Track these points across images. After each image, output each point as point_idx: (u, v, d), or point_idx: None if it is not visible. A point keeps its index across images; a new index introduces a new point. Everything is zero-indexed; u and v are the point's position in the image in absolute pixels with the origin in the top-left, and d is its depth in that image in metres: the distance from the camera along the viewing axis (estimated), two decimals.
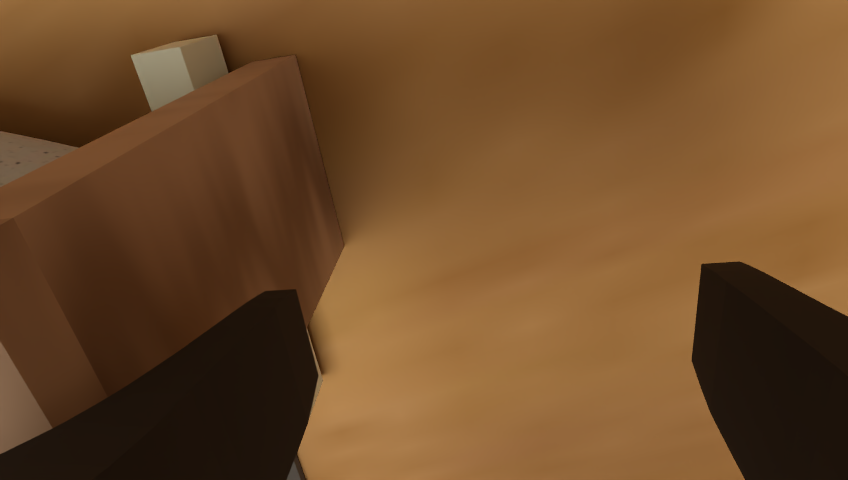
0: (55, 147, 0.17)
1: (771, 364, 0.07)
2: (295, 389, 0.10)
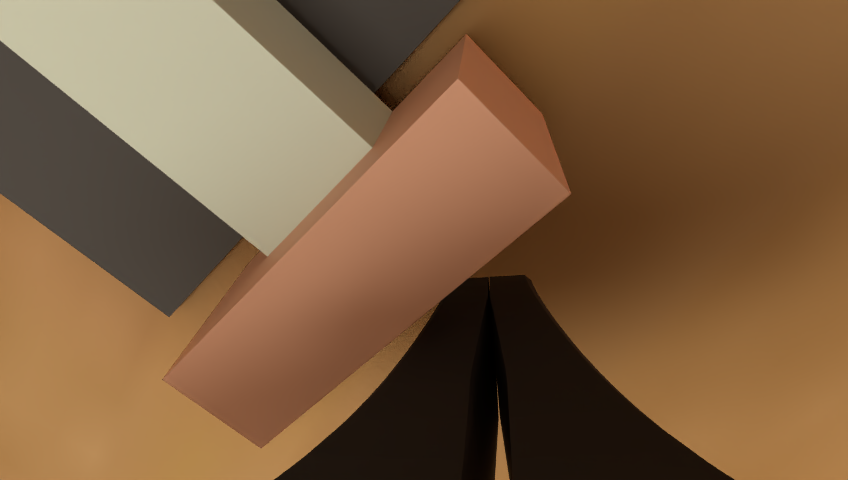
0: None
1: (501, 374, 0.08)
2: (494, 382, 0.10)
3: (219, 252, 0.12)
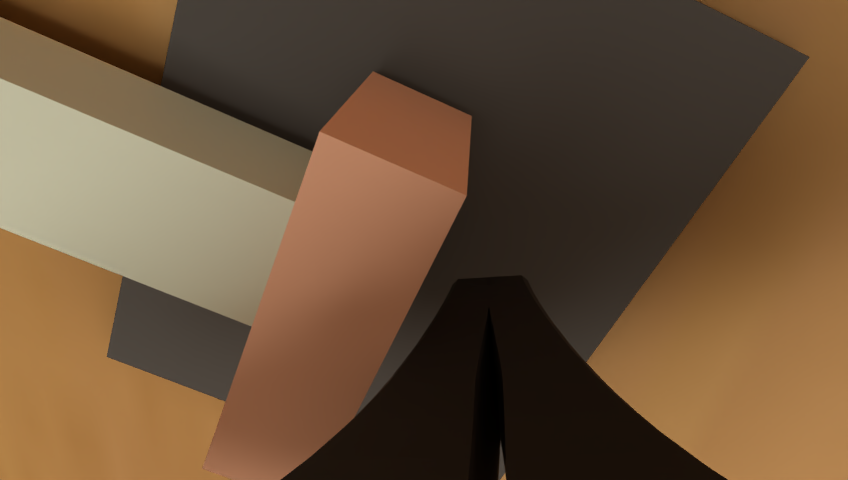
0: None
1: (498, 374, 0.08)
2: None
3: None
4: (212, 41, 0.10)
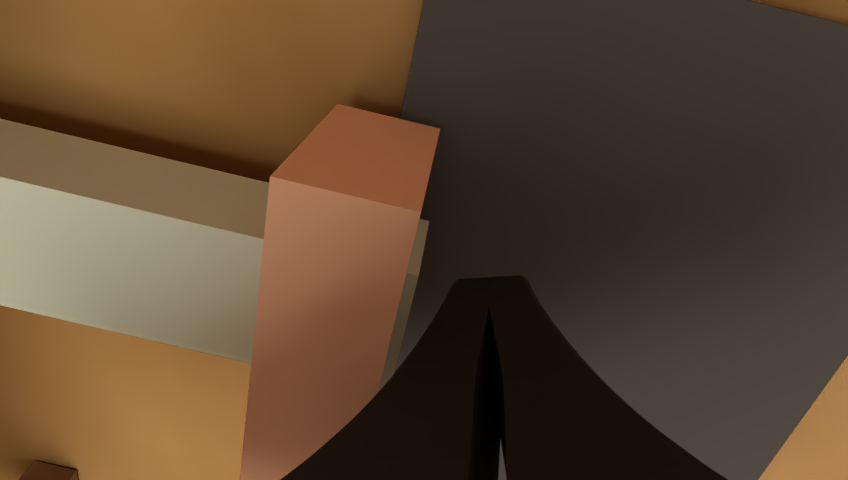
0: None
1: (498, 375, 0.08)
2: None
3: None
4: None
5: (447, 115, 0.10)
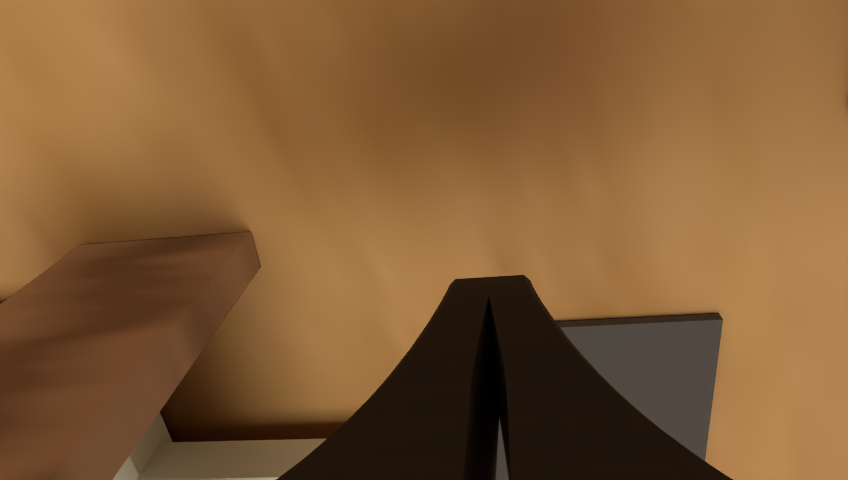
0: None
1: (501, 374, 0.08)
2: (495, 382, 0.10)
3: None
4: None
5: None
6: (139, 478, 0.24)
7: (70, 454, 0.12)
